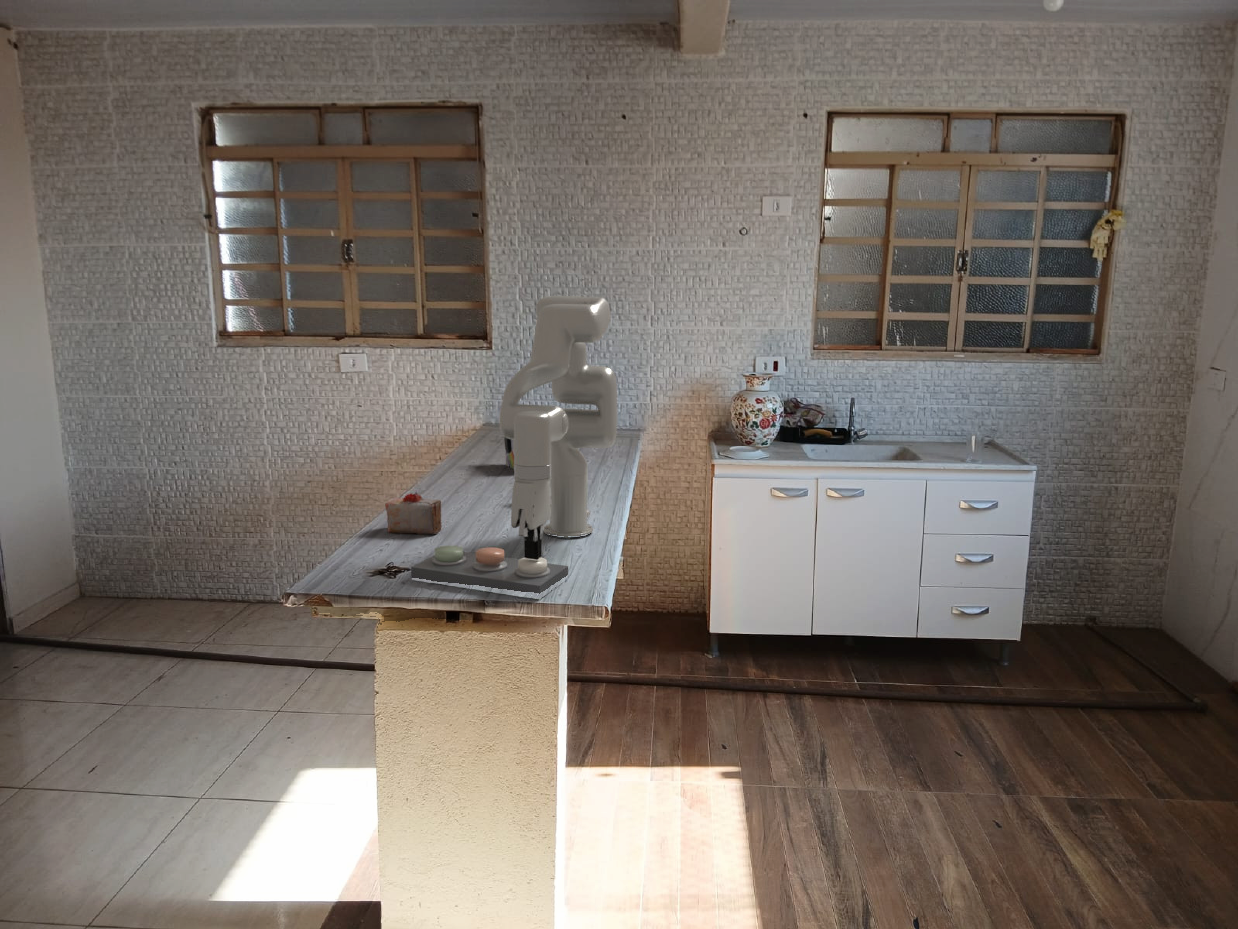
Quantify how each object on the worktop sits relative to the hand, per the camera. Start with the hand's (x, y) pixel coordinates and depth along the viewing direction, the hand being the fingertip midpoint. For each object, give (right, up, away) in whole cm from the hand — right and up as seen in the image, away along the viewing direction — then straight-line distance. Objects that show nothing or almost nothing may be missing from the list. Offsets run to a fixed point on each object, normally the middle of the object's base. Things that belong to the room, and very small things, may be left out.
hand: (533, 557), depth 187 cm
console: (-10, -5, +4) cm, 12 cm away
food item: (-34, +2, +40) cm, 53 cm away
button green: (-19, -2, +7) cm, 20 cm away
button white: (0, -3, 0) cm, 3 cm away
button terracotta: (-9, -2, +4) cm, 10 cm away
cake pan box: (-16, +18, +118) cm, 120 cm away
